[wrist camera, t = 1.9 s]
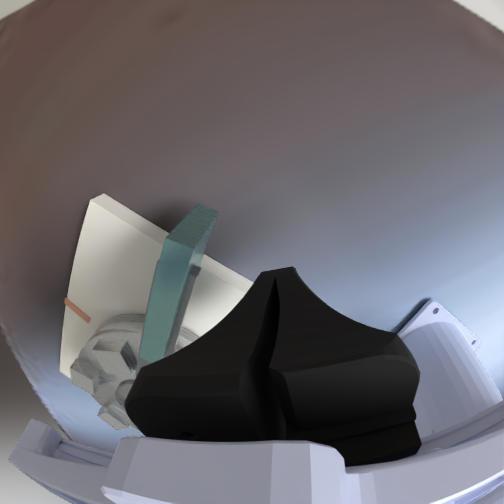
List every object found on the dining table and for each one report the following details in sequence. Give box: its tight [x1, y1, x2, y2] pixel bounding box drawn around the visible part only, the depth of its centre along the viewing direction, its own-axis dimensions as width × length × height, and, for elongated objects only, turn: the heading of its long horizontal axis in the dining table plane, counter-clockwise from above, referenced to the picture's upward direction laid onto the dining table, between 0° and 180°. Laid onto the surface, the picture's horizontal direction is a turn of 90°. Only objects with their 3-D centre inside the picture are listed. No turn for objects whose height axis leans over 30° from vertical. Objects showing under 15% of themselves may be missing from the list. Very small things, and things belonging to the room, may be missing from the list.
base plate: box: [60, 194, 253, 380], centre depth 19 cm, size 17×19×2 cm
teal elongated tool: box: [70, 204, 219, 430], centre depth 15 cm, size 18×11×5 cm, turn 158°
